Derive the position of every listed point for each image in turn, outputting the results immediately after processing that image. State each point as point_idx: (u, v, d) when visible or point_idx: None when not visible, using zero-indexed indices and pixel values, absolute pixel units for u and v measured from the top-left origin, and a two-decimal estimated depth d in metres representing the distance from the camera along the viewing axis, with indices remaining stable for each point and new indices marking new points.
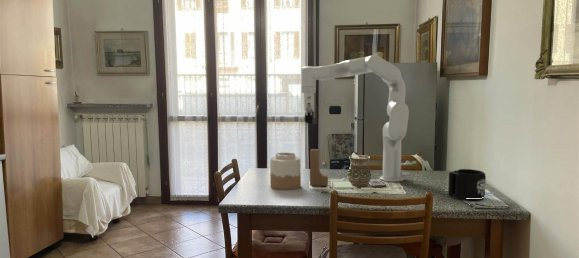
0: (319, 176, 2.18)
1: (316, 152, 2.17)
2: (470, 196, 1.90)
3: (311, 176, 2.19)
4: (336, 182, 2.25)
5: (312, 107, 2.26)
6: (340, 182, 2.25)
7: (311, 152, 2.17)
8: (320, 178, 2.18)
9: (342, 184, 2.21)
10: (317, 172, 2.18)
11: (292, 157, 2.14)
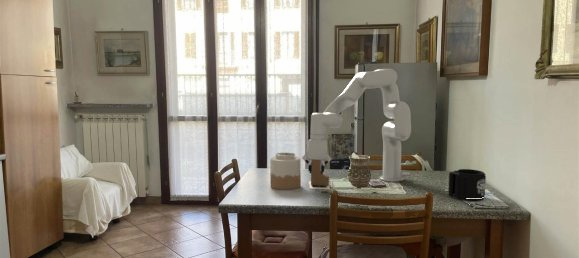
0: (320, 175, 2.18)
1: None
2: (470, 196, 1.90)
3: (312, 176, 2.18)
4: (336, 182, 2.25)
5: None
6: (340, 182, 2.25)
7: None
8: (321, 178, 2.18)
9: (342, 184, 2.21)
10: (318, 172, 2.18)
11: (292, 157, 2.14)
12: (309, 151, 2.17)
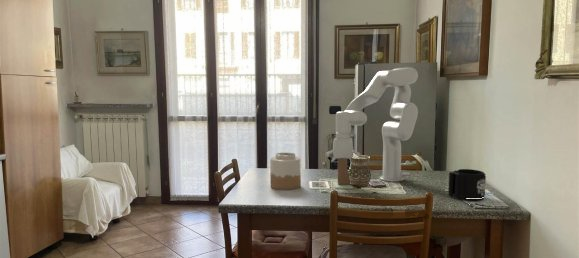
0: (347, 175, 2.18)
1: None
2: (470, 196, 1.90)
3: (339, 176, 2.19)
4: (336, 182, 2.25)
5: None
6: None
7: None
8: None
9: None
10: (345, 171, 2.18)
11: (292, 157, 2.14)
12: (335, 150, 2.17)
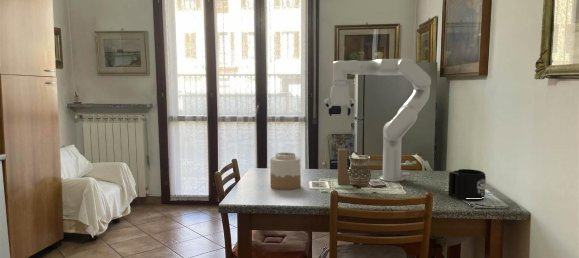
0: (347, 175, 2.18)
1: (344, 151, 2.17)
2: (470, 196, 1.90)
3: (339, 176, 2.19)
4: (336, 182, 2.25)
5: None
6: None
7: (339, 152, 2.17)
8: None
9: None
10: (345, 171, 2.18)
11: (292, 157, 2.14)
12: (332, 97, 2.32)
